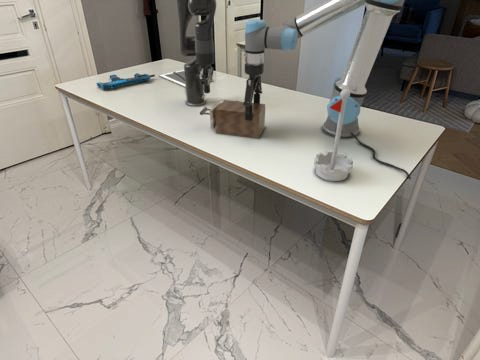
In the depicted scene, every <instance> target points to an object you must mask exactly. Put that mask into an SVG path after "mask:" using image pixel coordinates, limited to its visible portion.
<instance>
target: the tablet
mask: <svg viewBox="0 0 480 360" xmlns="http://www.w3.org/2000/svg"><path fill="white" fill-rule="evenodd" d="M173 72H175V73H177V74H178V75H180V76H181V77H183V78H184V79H185V73H184V69H182V70H181V69H180V70H176V71H172V72H167V73H163V74H158V76H159V77H161V78H163V79H165V80H167V81H170V82H173V83H175V84H177V85H179V86H182V87H184V88H186V86H185V81H184V80H183V79H182V78H181V77H179V76H178V75H176V74H175V73H173ZM211 82H214V80H213V79H212V81H211Z"/></svg>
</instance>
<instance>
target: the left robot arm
mask: <svg viewBox="0 0 480 360" xmlns="http://www.w3.org/2000/svg"><path fill="white" fill-rule="evenodd" d="M175 5H176V13H177V25H178V26H177V28H178V30H177V31H178V50H179V54H180V56H181V57H193V58H192V59H191V60H190V61H187V62H185V64H183V70H184V73H185V79H184V78H183V77H181V76H180V75H178V74H177V73H175V72H176V71H172V72H173V73H175V74H176V75H178V76H179V77H181V78H182V79H183V80H184V81H185V86H186V87H185V96H186V97H185V98H186V104H187V105H188V106H191V107H198V106H202V105H205V103H206V99H205V98H206V94H210V93H211V82H213V81H212V80H213V77H214V70H215V68H214V67H213V66H212V65H213V64H215V61H216V60H215V44H214V19H215V16H216V15H215V14H216V10H217V0H175ZM194 16H195V17H198V16H199V17H200V16H206V17H205V18H204V20H201V21H198V22H196V23H195V24H194V35H193V34H192V35H187V31H188V26H189V25H190V23H191V20H192V19H193V17H194Z"/></svg>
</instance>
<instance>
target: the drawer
mask: <svg viewBox="0 0 480 360" xmlns="http://www.w3.org/2000/svg"><path fill="white" fill-rule="evenodd" d="M221 103H222V102H220V101H217V102H216V103H215V104H214V106H213V107H211V108H208V107H206V106H204V108H203V109H201V111H200V112H199V115H200V116H203V115H208V116H209V122H210V130H212V131H213V130H215V129H216V108H217V107H218V106H219V105H220V104H221ZM207 111H209V112H207Z"/></svg>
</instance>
